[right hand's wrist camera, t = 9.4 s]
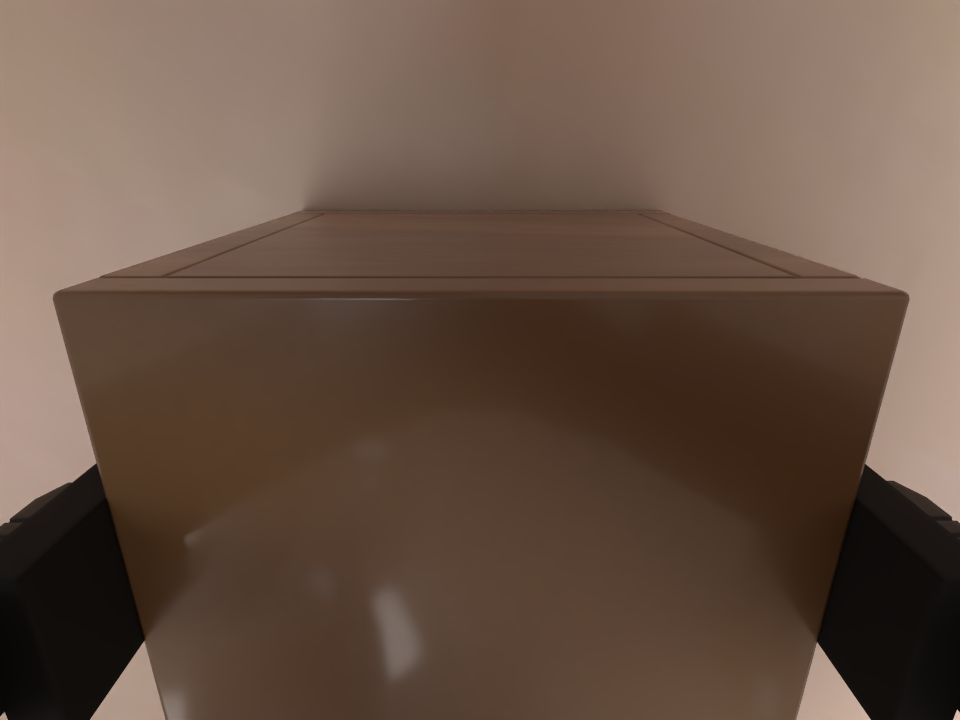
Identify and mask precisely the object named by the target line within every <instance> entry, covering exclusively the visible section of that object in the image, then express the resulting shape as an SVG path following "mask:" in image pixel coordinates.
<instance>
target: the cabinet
mask: <svg viewBox="0 0 960 720" xmlns="http://www.w3.org/2000/svg"><path fill="white" fill-rule="evenodd" d="M53 302H54V305H55V309H56V313H57V316H58V320H59V324H60V328H61V331H62V335H63V339H64V343H65V346H66V350H67V354H68V357H69V361H70V365H71V369H72V372H73V376H74V380H75V384H76V387H77V391H78V395H79V398H80V402H81V406H82V410H83V413H84V417H85V421H86V425H87V428H88V432H89V436H90V439H91V443H92V447H93V451H94V454H95V458H96V462H97V466H98V469H99V473H100V477H101V480H102V484H103V488H104V492H105V495H106V499H107V503H108V507H109V510H110V514H111V518H112V521H113V525H114V529H115V533H116V536H117V540H118V544H119V548H120V551H121V555H122V559H123V562H124V566H125V570H126V574H127V577H128V581H129V585H130V589H131V592H132V596H133V600H134V603H135V607H136V611H137V615H138V618H139V622H140V626H141V630H142V633H143V637H144V641H145V644H146V648H147V652H148V656H149V659H150V663H151V667H152V671H153V674H154V678H155V682H156V685H157V689H158V693H159V697H160V700H161V704H162V708H163V712H164V715H165V719H166V720H796V718H797V714H798V710H799V707H800V703H801V699H802V696H803V692H804V688H805V684H806V681H807V677H808V673H809V670H810V666H811V662H812V659H813V655H814V651H815V647H816V644H817V640H818V636H819V633H820V629H821V625H822V621H823V618H824V614H825V610H826V607H827V603H828V599H829V595H830V592H831V588H832V584H833V581H834V577H835V573H836V570H837V566H838V562H839V558H840V555H841V551H842V547H843V544H844V540H845V536H846V532H847V529H848V525H849V521H850V518H851V514H852V510H853V506H854V503H855V499H856V495H857V492H858V488H859V484H860V481H861V477H862V473H863V469H864V466H865V462H866V458H867V455H868V451H869V447H870V443H871V440H872V436H873V432H874V429H875V425H876V421H877V417H878V414H879V410H880V406H881V403H882V399H883V395H884V392H885V388H886V384H887V380H888V377H889V373H890V369H891V366H892V362H893V358H894V354H895V351H896V347H897V343H898V340H899V336H900V332H901V328H902V325H903V321H904V317H905V314H906V310H907V306H908V303H909V295H908V294H907V293H906V292H904V291H901V290H898V289H895V288H892V287H889V286H886V285H883V284H880V283H877V282H874V281H871V280H868V279H861V278H860V277H858V276H856V275H853V274H850V273H847V272H844V271H841V270H838V269H835V268H832V267H828V266H825V265H822V264H819V263H816V262H813V261H810V260H807V259H804V258H801V257H798V256H795V255H792V254H789V253H786V252H783V251H780V250H777V249H774V248H771V247H768V246H765V245H762V244H759V243H756V242H753V241H750V240H747V239H744V238H741V237H737V236H734V235H731V234H728V233H725V232H722V231H719V230H716V229H713V228H710V227H707V226H704V225H701V224H698V223H695V222H692V221H689V220H686V219H683V218H680V217H677V216H674V215H671V214H669V213H666V212H663V211H299V212H296V213H293V214H290V215H287V216H284V217H281V218H278V219H275V220H272V221H269V222H266V223H262V224H259V225H256V226H253V227H250V228H247V229H244V230H241V231H238V232H235V233H232V234H229V235H226V236H223V237H219V238H216V239H213V240H210V241H207V242H204V243H201V244H198V245H195V246H192V247H189V248H186V249H183V250H180V251H176V252H173V253H170V254H167V255H164V256H161V257H158V258H155V259H152V260H149V261H146V262H143V263H140V264H137V265H133V266H130V267H127V268H124V269H121V270H118V271H115V272H112V273H109V274H106V275H103V276H100V277H99V278H96V279H93V280H90V281H87V282H84V283H81V284H78V285H74V286H71V287H68V288H65V289H62V290H59V291H57V292H55V293H54V294H53Z"/></svg>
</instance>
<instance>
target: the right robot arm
mask: <svg viewBox="0 0 960 720" xmlns="http://www.w3.org/2000/svg"><path fill="white" fill-rule="evenodd" d="M143 642H144V637H143V633H142V630H141V626H140V622H139V618H138V615H137V611H136V607H135V603H134V600H133V596H132V592H131V589H130V585H129V581H128V577H127V574H126V570H125V566H124V562H123V559H122V555H121V551H120V548H119V544H118V540H117V536H116V533H115V529H114V525H113V521H112V518H111V514H110V510H109V507H108V503H107V499H106V495H105V492H104V488H103V484H102V480H101V477H100V473H99V469H98V466H97V463H96V464H95V465H94V466H93V467H91V468H90V469H89V470H88V471H86V472H85V473H84V474H83V475H81V476H80V477H79V478H78V479H76V480H75V481H74V482H73V483H67V484H65V485H63V486H61V487H59V488H57V489H55V490H53V491H51V492H49V493H47V494H45V495H43V496H41V497H39V498H37V499H35V500H34V501H32V502H31V503H30V504H29V505H27V506H26V507H25V508H23V509H22V510H21V511H20V512H18V513H17V514H16V515H14V516H13V517H12V518H11V519H10V522H9V523H4V524H3V525H2V526H0V716H1V715H2V714H3V713H4V711H5V713H6V716H7V718H8V720H90V719H91V717H92V716H93V714H94V713H95V711H96V710H97V708H98V707H99V705H100V704H101V703H102V701H103V700H104V698H105V697H106V695H107V694H108V692H109V691H110V690H111V688H112V687H113V685H114V684H115V682H116V681H117V679H118V678H119V677H120V675H121V674H122V672H123V671H124V669H125V668H126V666H127V665H128V663H129V662H130V661H131V659H132V658H133V656H134V655H135V653H136V652H137V650H138V649H139V648H140V646H141V645H142V643H143ZM817 642H818V644H819V645H820V646H821V648H822V649H823V651H824V652H825V654H826V655H827V657H828V658H829V660H830V661H831V662H832V664H833V665H834V667H835V668H836V670H837V671H838V673H839V674H840V675H841V677H842V678H843V680H844V681H845V683H846V684H847V686H848V687H849V689H850V690H851V691H852V693H853V694H854V696H855V697H856V699H857V700H858V702H859V703H860V704H861V706H862V707H863V709H864V710H865V712H866V713H867V715H868V716H869V717H870V719H871V720H953V718H954V716H955V713H956V711H957V710H958V711H959V712H960V523H959V522H958V521H952V517H951V516H950V515H949V514H947V513H946V512H945V511H943V510H942V509H941V508H939V507H938V506H937V505H936V504H934V503H933V502H932V501H930V500H929V499H928V498H926V497H925V496H923V495H921V494H919V493H917V492H915V491H913V490H911V489H909V488H907V487H905V486H903V485H901V484H899V483H897V482H895V481H886V480H884V479H883V478H882V477H881V476H879V475H878V474H877V473H876V472H874V471H873V470H872V469H871V468H869V467H868V466H867V465H866V464H865V466H864V469H863V473H862V477H861V481H860V484H859V488H858V492H857V495H856V499H855V503H854V506H853V510H852V514H851V518H850V521H849V525H848V529H847V532H846V536H845V540H844V544H843V547H842V551H841V555H840V558H839V562H838V566H837V570H836V573H835V577H834V581H833V584H832V588H831V592H830V595H829V599H828V603H827V607H826V610H825V614H824V618H823V621H822V625H821V629H820V633H819V636H818V640H817Z"/></svg>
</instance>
